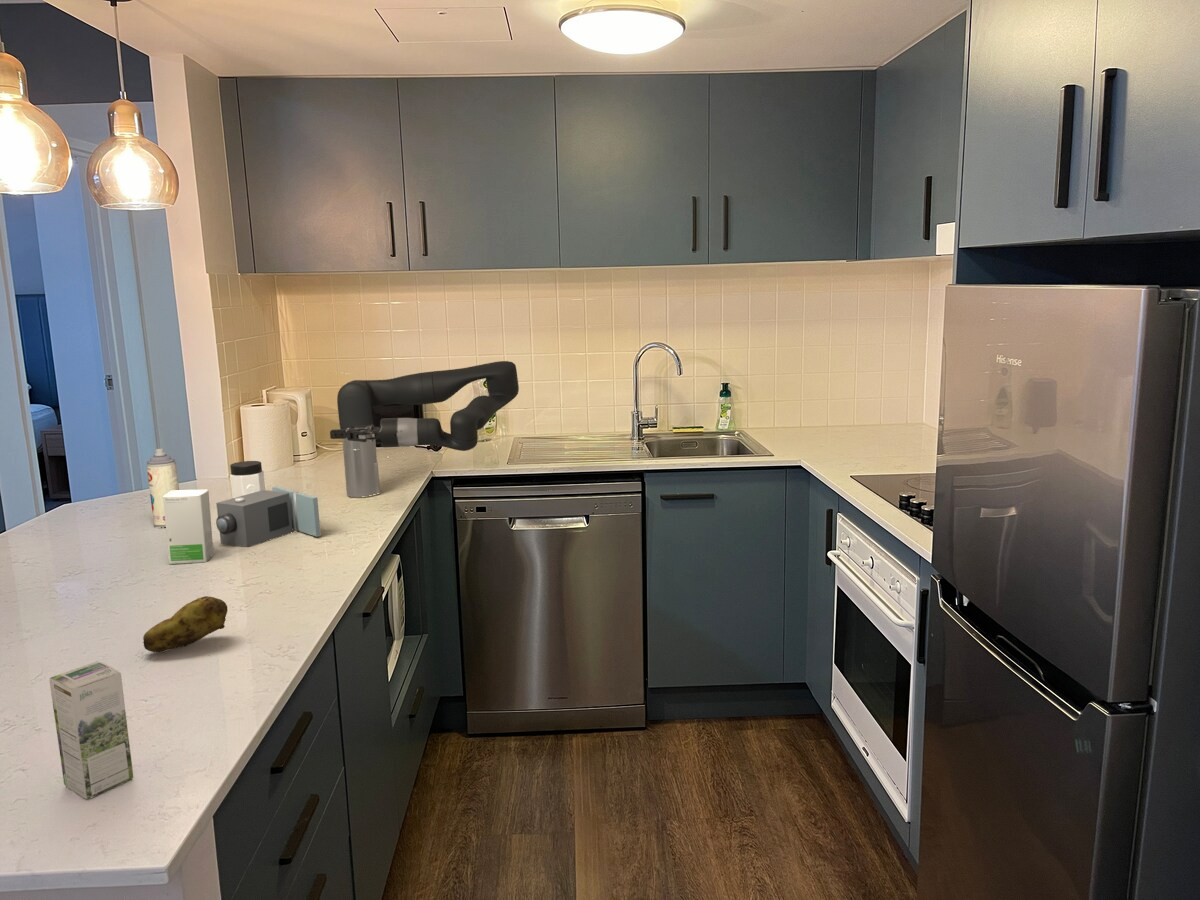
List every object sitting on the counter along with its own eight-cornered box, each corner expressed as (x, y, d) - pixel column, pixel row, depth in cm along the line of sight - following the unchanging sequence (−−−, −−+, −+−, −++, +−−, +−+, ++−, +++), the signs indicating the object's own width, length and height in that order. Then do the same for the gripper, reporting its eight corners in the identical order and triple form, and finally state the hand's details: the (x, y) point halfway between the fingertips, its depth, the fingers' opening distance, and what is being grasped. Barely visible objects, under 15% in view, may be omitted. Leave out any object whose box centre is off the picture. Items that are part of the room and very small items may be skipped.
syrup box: (111, 765, 111) (96, 658, 108) (135, 779, 108) (120, 669, 105) (63, 787, 107) (46, 675, 104) (87, 802, 103) (70, 687, 101)
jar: (236, 510, 241) (231, 468, 239) (230, 504, 248) (225, 463, 246) (270, 505, 246) (265, 463, 244) (263, 500, 253) (259, 459, 251)
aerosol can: (155, 522, 231) (146, 448, 227) (184, 520, 233) (175, 446, 229) (152, 529, 224) (142, 452, 221) (181, 526, 226) (172, 450, 223)
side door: (275, 524, 225) (272, 487, 223) (280, 523, 226) (277, 486, 224) (316, 537, 211) (312, 498, 210) (321, 536, 212) (317, 497, 211)
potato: (153, 641, 151) (148, 597, 150) (233, 632, 154) (228, 588, 153) (141, 660, 143) (135, 614, 142) (225, 650, 146) (220, 605, 145)
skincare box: (168, 565, 194) (159, 496, 191) (177, 556, 200) (169, 490, 197) (208, 562, 195) (200, 494, 192) (216, 553, 202) (208, 487, 199)
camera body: (266, 528, 222) (262, 487, 220) (293, 532, 218) (289, 489, 216) (212, 546, 208) (207, 502, 206) (239, 550, 203) (234, 505, 201)
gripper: (400, 414, 233) (333, 416, 230) (397, 421, 220) (326, 423, 217) (401, 442, 234) (334, 444, 231) (399, 451, 221) (327, 453, 218)
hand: (330, 434), depth 224 cm, fingers closed
